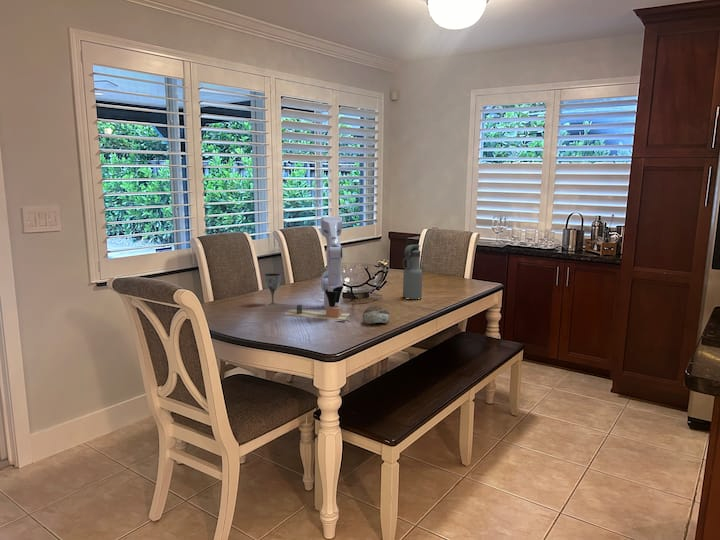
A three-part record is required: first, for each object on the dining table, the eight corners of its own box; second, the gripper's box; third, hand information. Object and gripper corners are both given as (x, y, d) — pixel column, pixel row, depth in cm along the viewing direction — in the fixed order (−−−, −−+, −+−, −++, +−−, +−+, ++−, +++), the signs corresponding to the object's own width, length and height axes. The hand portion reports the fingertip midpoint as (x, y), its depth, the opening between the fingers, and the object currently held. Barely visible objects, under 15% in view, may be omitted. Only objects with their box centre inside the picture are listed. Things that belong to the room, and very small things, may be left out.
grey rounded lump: (378, 321, 223) (371, 299, 227) (361, 330, 228) (354, 308, 232) (397, 321, 235) (390, 300, 238) (381, 329, 240) (374, 308, 243)
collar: (329, 313, 242) (329, 305, 241) (341, 314, 241) (341, 305, 240) (326, 316, 236) (326, 307, 236) (338, 317, 235) (338, 308, 234)
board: (290, 311, 249) (290, 301, 248) (350, 316, 243) (350, 305, 242) (282, 318, 237) (282, 307, 236) (344, 322, 232) (344, 311, 231)
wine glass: (261, 304, 262) (260, 274, 259) (274, 302, 267) (273, 272, 265) (271, 307, 256) (270, 276, 254) (284, 305, 262) (284, 274, 260)
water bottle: (411, 301, 275) (413, 246, 271) (398, 298, 283) (399, 244, 278) (425, 298, 282) (427, 245, 277) (411, 295, 289) (413, 243, 285)
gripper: (329, 270, 243) (329, 300, 245) (321, 276, 229) (320, 307, 231) (345, 271, 242) (344, 301, 244) (337, 277, 228) (336, 308, 230)
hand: (334, 304), depth 238 cm, fingers open, 7 cm apart
